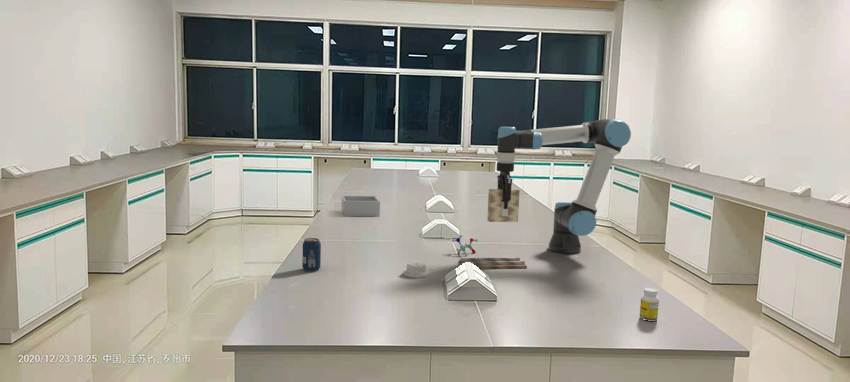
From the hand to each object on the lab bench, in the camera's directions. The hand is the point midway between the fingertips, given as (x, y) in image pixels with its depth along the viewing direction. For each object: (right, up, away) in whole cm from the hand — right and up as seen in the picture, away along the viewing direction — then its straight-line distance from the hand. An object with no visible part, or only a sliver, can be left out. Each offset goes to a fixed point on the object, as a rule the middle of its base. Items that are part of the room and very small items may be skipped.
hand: (503, 215), depth 271 cm
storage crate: (-74, -3, +101) cm, 125 cm away
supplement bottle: (+37, -31, -75) cm, 89 cm away
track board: (-6, -21, -13) cm, 25 cm away
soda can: (-79, -20, -32) cm, 87 cm away
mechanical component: (-38, -22, -32) cm, 54 cm away
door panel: (0, -3, 0) cm, 3 cm away
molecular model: (-17, -18, +6) cm, 25 cm away
